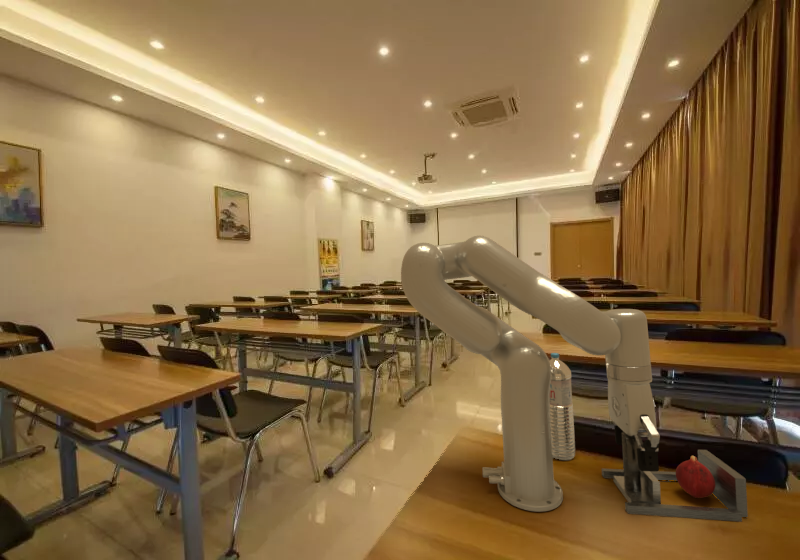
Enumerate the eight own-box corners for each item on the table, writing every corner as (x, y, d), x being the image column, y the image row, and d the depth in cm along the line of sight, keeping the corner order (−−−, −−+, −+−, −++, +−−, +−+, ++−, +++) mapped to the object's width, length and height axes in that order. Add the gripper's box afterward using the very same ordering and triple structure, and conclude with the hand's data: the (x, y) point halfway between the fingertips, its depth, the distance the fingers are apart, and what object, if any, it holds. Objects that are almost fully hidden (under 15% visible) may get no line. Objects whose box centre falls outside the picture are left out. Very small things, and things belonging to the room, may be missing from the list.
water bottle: (579, 462, 80) (574, 356, 80) (549, 461, 82) (543, 357, 81) (570, 447, 87) (565, 350, 87) (541, 446, 88) (537, 350, 88)
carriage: (631, 506, 65) (628, 443, 65) (613, 481, 73) (610, 425, 72) (661, 508, 64) (658, 444, 64) (639, 482, 72) (636, 426, 71)
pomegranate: (724, 509, 63) (722, 466, 63) (688, 506, 64) (686, 464, 64) (703, 489, 68) (701, 449, 68) (670, 487, 70) (668, 448, 69)
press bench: (627, 513, 63) (626, 475, 63) (602, 475, 75) (600, 443, 75) (752, 522, 59) (750, 482, 59) (704, 480, 71) (702, 447, 71)
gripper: (592, 361, 77) (598, 436, 77) (627, 386, 60) (636, 482, 60) (628, 359, 76) (635, 436, 76) (675, 384, 59) (684, 483, 59)
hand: (635, 456), depth 68 cm, fingers open, 9 cm apart
